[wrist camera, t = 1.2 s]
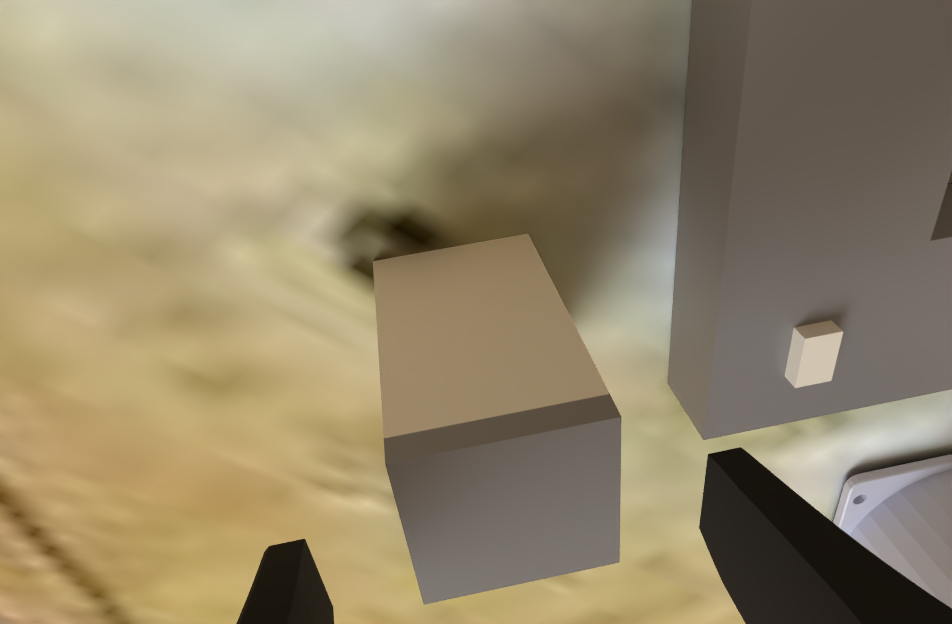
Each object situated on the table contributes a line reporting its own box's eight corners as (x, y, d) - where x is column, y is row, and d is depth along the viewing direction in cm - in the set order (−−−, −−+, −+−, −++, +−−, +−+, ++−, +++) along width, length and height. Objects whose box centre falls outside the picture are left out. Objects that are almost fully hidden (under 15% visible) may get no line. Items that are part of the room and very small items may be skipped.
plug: (537, 356, 19) (619, 562, 13) (400, 382, 19) (423, 604, 13) (528, 233, 17) (621, 416, 11) (373, 261, 17) (385, 463, 11)
